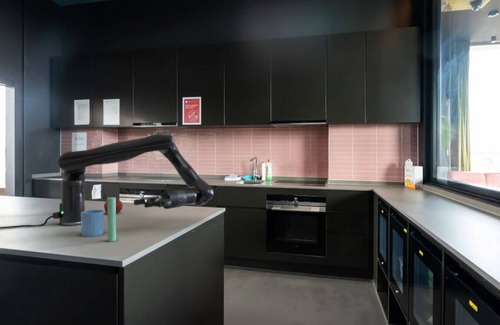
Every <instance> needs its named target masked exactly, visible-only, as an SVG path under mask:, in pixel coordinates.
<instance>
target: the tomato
mask: <svg viewBox="0 0 500 325" xmlns="http://www.w3.org/2000/svg"><path fill="white" fill-rule="evenodd" d="M103 206H104V207H103V208H104V212H105V213H106V214H108V212H107V200H106V201H105V202H104V203H103ZM123 207H124V206H123V202H122V201H121V200H119V199H117V198H116V214H118V213H121V211H122V210H123Z"/></svg>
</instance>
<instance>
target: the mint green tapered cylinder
mask: <svg viewBox="0 0 500 325" xmlns="http://www.w3.org/2000/svg"><path fill="white" fill-rule="evenodd" d="M116 199H117V198H116V197H115V196H114V197H113V196H111V197H107V200H106V201H107V212H108V213H107V212H106V213H107V241H108V242H115V241H117V213H116Z"/></svg>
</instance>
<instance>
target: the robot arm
mask: <svg viewBox="0 0 500 325" xmlns="http://www.w3.org/2000/svg"><path fill="white" fill-rule="evenodd" d="M151 152H159V153H161V155H163V156H164V157H165V158H166V159H167V160H168V161H169V162H170V164H171V165H172V166H173V168H174V169H175V171H176V172H177V174H178V175H179V177H180V178H181V179H182V182H184V183H185V185H186V186H187V187H188V189H175V190H166V191H165V190H164V191H163V192H162V193H161V194H160V195H155V196H154V195H153V196H145V197H144V196H143V197H141V198H138V199H137V198H136V199H134V200H133V205H134V206H140V205H144V208H147V209H148V208H153V207H154V208H163V209H165V210H170V209H176V208H181V207H185V206H190V205H191V206H203V205H205V204H207V203H208V202H209V201H210V200H212V199H213V197H214V195H215V192H214V189H213V187H212V186H211V185H210V184H209V183H208V182H206V181H205V180H203V179H202V178H201V177H200V176H199V175H198V173H197V171H196V170H195V169H194V168H193V167H192V166H191V165H190V163H189V162H188V161H187V160H186V159H185V158H184V156H182V154H181V152H180V151H179V148H178V147H177V145H176V142H175V139H174V137H173V135H172V134H171V133H169V132H166V131H164V132H163V131H162V132H158V133H154V134H151V135H148V136H145V137H140V138H134V139H128V140H123V141H118V142H112V143H108V144H103V145H100V146H97V147H94V148H90V149H85V150H83V149H82V150H75V151H73V150H72V151H65V152H63V153H62V154H61V155H60V156H59V157H58V159H57V165H58V167H59V169H61V170H62V171H63V178H62V180H61V182H60V188H61V189H60V191H61V192H60V193H61V196H60V197H61V202H60V203H59V211H55V212H52V215H50V216H48V217H47V218H45V220H44V222H43V223H41V224H19V225H18V224H17V225H7V226H0V230H2V229H3V230H4V229H15V228H26V227H27V228H31V227H32V228H35V227H42V226H45V225H46V224H47V223H48V221H49V220H50V219H54V220H59V225H62V226H77V225H81V212H83V211H86V210H85V208H86V207H85V205H86V204H85V182H86V176H87V175H86V173H87V167H91V166H97V165H99V166H100V165H109V164H117V163H122V162H126V161H130V160H133V159H135V158H137V157H139V156H141V155H143V154H147V153H151ZM193 188H195V189H197V191H195V190H194V189H193Z"/></svg>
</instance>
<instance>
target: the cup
mask: <svg viewBox="0 0 500 325" xmlns="http://www.w3.org/2000/svg"><path fill="white" fill-rule="evenodd" d="M104 230H105V229H104V210H103V209H88V210H85V211H83V212H81V224H80V236H82V237H97V236H100V235H103V234H104V232H105V231H104Z"/></svg>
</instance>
